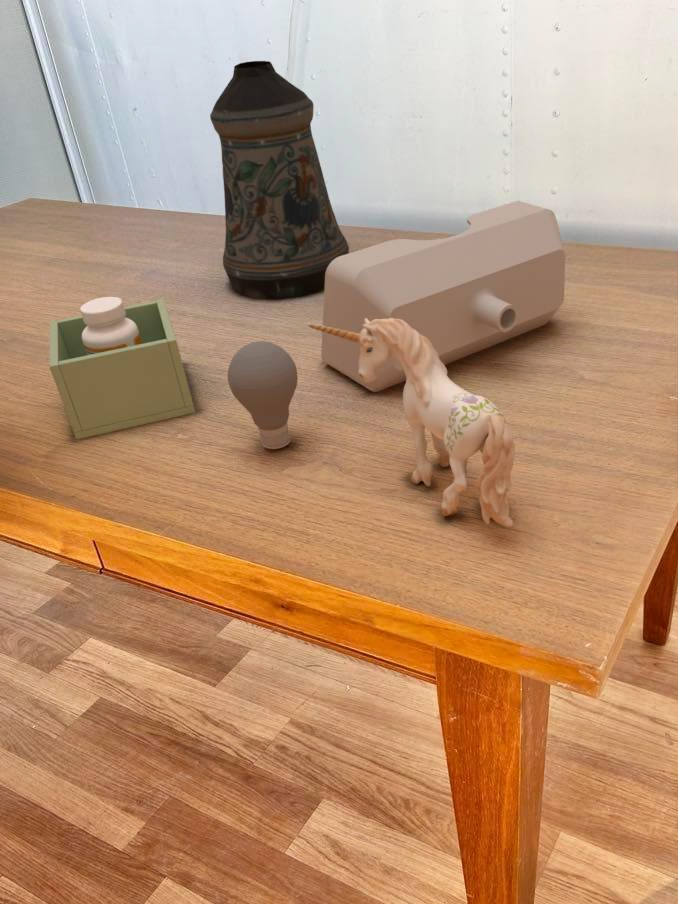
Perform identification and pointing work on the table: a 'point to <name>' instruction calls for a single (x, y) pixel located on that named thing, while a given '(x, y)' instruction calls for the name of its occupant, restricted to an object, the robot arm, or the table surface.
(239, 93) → the brown decorated vase
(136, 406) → the bin
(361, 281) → the tank
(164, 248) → the table surface
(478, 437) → the unicorn figurine
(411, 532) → the table surface
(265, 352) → the light bulb
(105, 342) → the supplement bottle
